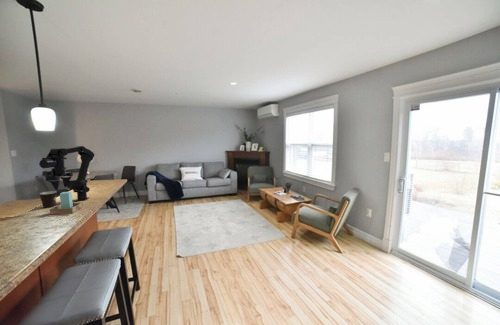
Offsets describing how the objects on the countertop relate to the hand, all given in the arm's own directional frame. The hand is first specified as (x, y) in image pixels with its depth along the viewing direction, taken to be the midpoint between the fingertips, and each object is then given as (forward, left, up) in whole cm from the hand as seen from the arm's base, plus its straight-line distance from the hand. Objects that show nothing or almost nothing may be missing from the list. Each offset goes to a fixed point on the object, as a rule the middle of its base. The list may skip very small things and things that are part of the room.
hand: (61, 188), depth 144 cm
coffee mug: (-3, -9, -13) cm, 16 cm away
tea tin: (+11, +9, -13) cm, 19 cm away
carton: (+11, +9, -13) cm, 19 cm away
